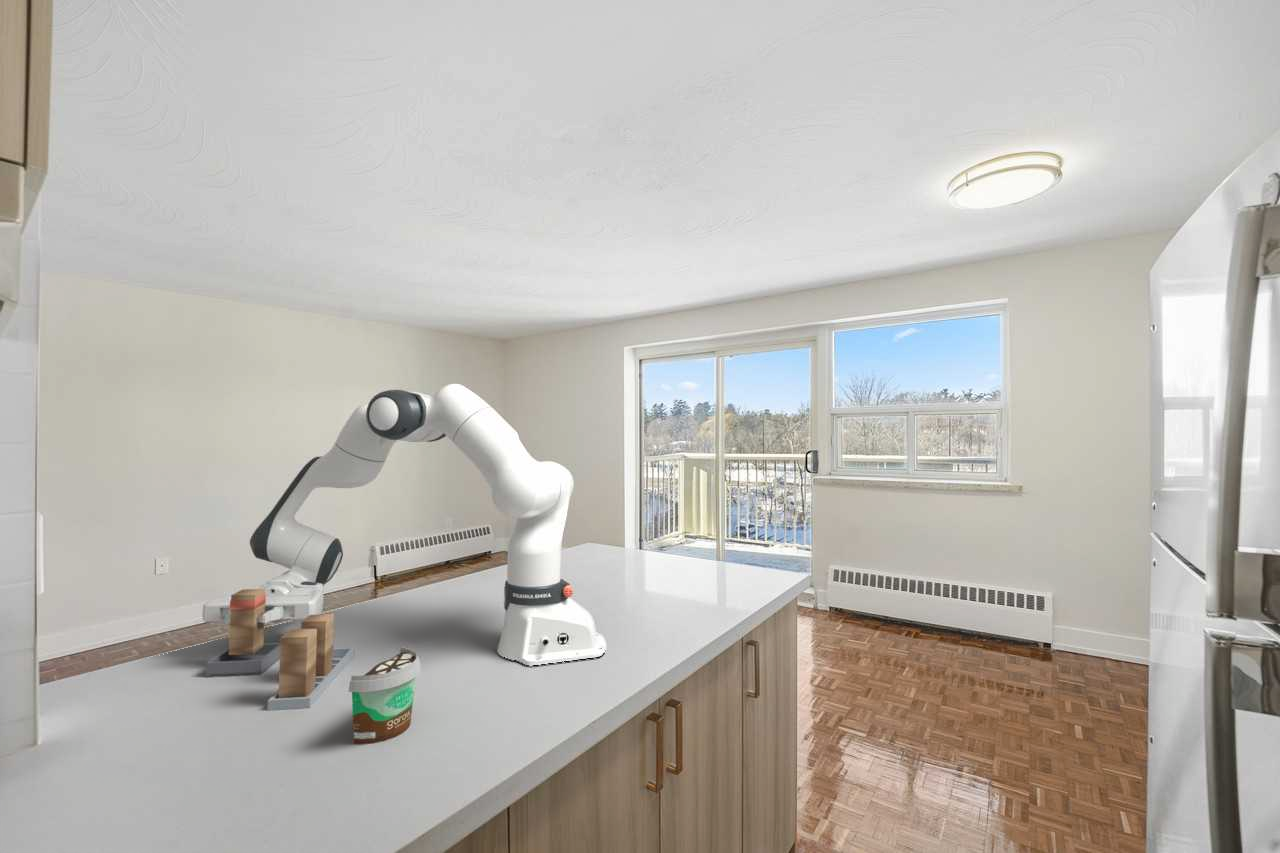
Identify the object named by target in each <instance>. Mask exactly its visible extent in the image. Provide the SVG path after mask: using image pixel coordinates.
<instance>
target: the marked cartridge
mask: <svg viewBox="0 0 1280 853" xmlns="http://www.w3.org/2000/svg"><path fill="white" fill-rule="evenodd" d="M230 595H231V601H230V610H231V613H230V625H229V640H228V641H229V644H228V648H229V655H247V654H254V653H255V652H256V651H258V650H259V649H260V648H262V647H263V644H264V633H265V632H264V630H265V624H257V620H258V619H257V616H258V614H260V613H261V612H265V603H266V594H265V589H258V588H251V589H246V588H245V589H241V590H239V591H237V592H235V593H233V594H230Z"/></svg>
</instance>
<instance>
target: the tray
mask: <svg viewBox="0 0 1280 853" xmlns="http://www.w3.org/2000/svg"><path fill="white" fill-rule="evenodd" d="M278 661H280V642H278V643H277V642H276V643H275V642H273V643H270V642H269V643H263V647H262V648H260V649H259V650H258V651H256V652H255V653H254V654H247V655H229V647H228V648H226V649H225V650H223V652H221V653H219V654H218V655H217V656H214V657H213V658H212V659H210V660H209V661H207V662H206V665H205V678H210V677H209V676H221V677H238V676H239V675H242V676H257V675H259V676H260V675H263V674H264V673H265V672H266V671H267V670H268V669H270V668H271V667H272V666H273V665H274V664H276V662H278ZM234 675H235V676H234ZM239 677H240V676H239Z"/></svg>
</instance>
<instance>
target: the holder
mask: <svg viewBox="0 0 1280 853" xmlns="http://www.w3.org/2000/svg"><path fill="white" fill-rule="evenodd" d="M355 653H356V647H337V648H335V647H333V664H332V670H331V671H330V672H329V674H328V675H327V676H319V677H315V689H314V690H313V691H312V692H311V694H310V695H309V696H308V697H295V698H278V697H279V689H278V690H277V691H276V692H275V693H274V694H273V695H272V696H271V697H270V698H269V699H268V700H267V707H266V708H267V711H274V710H276V711H278V710H293V709H309V708H311V707H312V706H313V705H314V704H315V702H316V701H317V700H318V699H319V698H320V697H321V695H323V693H324V692H325V690H326V689H327V688H329V686H330V685H331V684H332V682H334V680H335V679H336V678H337V676H338V675H339V674H340V673H341V672H342V671H343V669H344V668H345V667H346V666H347V665H348V664H349V663H350V661H351V660H352V659H353V658H354V656H355V655H356V654H355ZM341 657H342V658H341Z"/></svg>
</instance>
